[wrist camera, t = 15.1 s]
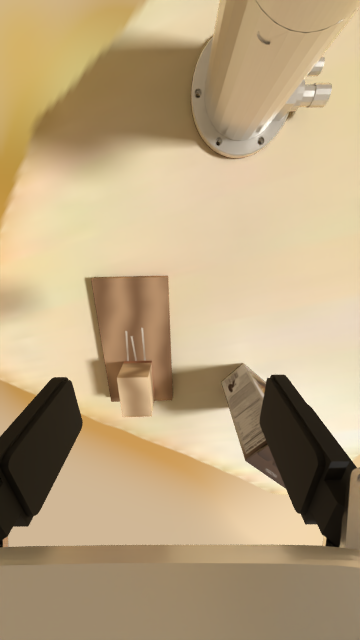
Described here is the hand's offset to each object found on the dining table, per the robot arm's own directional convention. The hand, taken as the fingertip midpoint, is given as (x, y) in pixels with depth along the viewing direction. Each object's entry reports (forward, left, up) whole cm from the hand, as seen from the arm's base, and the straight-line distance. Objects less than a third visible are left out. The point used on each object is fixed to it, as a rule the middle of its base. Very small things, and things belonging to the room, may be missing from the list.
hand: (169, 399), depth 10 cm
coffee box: (-14, +20, -26) cm, 36 cm away
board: (+7, +10, -26) cm, 29 cm away
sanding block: (+7, +17, -25) cm, 31 cm away
